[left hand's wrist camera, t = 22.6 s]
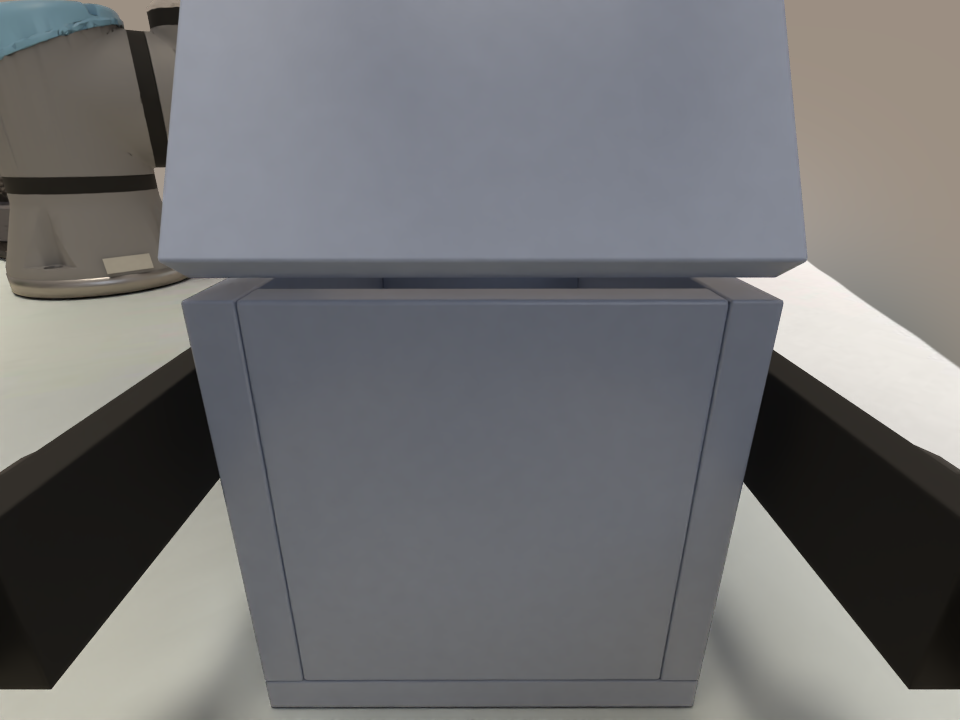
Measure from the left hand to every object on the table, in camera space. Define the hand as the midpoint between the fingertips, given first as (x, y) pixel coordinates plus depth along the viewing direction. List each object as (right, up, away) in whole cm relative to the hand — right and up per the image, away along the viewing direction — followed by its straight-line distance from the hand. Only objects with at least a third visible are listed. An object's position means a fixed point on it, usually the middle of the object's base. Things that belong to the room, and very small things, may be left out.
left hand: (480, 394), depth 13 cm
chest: (0, -5, +6) cm, 7 cm away
